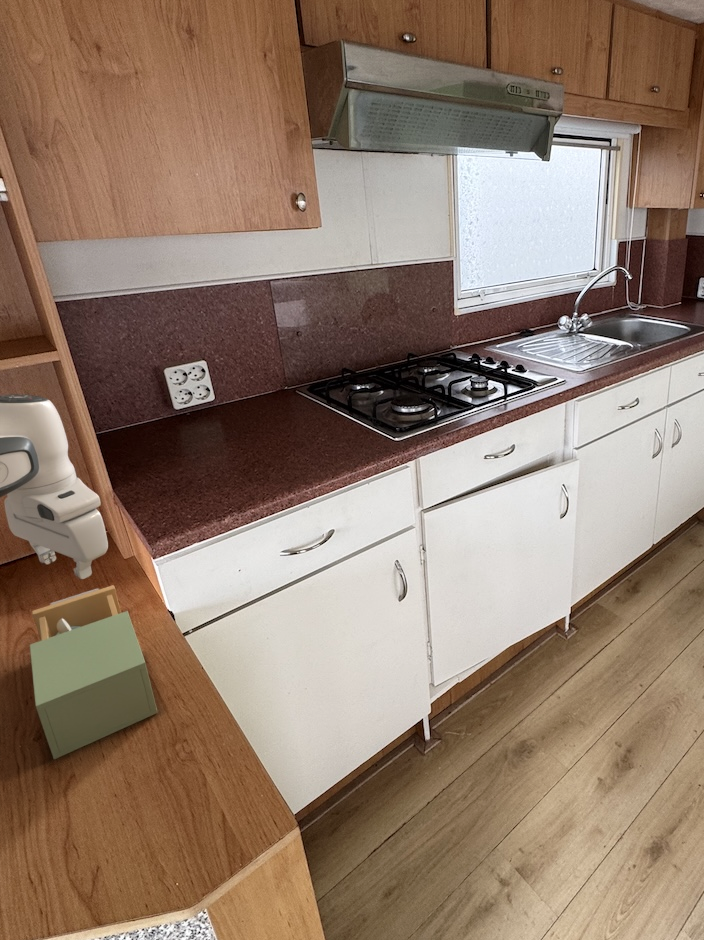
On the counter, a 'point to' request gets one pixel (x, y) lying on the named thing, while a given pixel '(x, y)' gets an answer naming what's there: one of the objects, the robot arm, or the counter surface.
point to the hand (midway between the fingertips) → (66, 568)
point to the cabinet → (90, 683)
